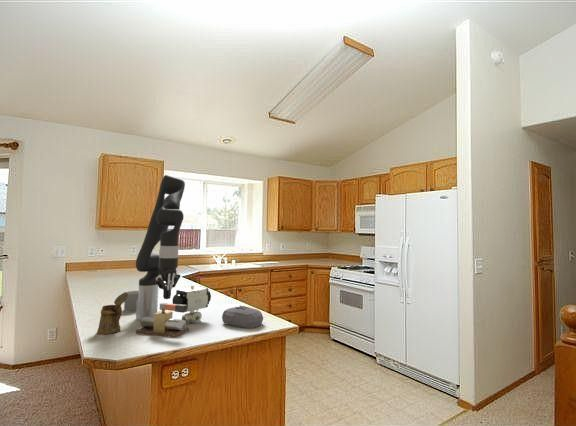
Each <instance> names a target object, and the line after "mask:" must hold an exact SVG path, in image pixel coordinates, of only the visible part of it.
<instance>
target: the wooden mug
mask: <svg viewBox="0 0 576 426" xmlns="http://www.w3.org/2000/svg"><path fill="white" fill-rule="evenodd" d="M126 292H127V291H125V292H123V293H121V294H119V295H118V296H117V297H116V298H115V299H114V302H113V303H114V304H106V305H103V306H102V307H101V310H100V318H99V323H98V328H97V331H96V334H97V335H104V336H105V335H113V334H115V333H116V334H117V333H118V332H120V331H121V325H120V320H121V318H122V314H123V309H122V306H121V305H122V304H124V302H125V300H126V299H127V297H128V294H127V293H126Z"/></svg>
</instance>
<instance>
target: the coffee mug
mask: <svg viewBox="0 0 576 426" xmlns="http://www.w3.org/2000/svg"><path fill="white" fill-rule="evenodd" d="M125 292H126V293H127V294H128V297H127V299H126V300H125V302H123V304H124V305H123V307H124V308H123V312H127V313H128V312H129V313H134V312H135V313H136V303H137V300H138V296H139V290H129V291H125Z"/></svg>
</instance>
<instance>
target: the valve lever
mask: <svg viewBox="0 0 576 426" xmlns="http://www.w3.org/2000/svg"><path fill="white" fill-rule="evenodd" d="M159 310H160V311H162V310H165V311H173V312H174V313H175V312H176V313H182V314H183V313H188V312H187V305H183V304H173V303H169V302H161V303H159Z"/></svg>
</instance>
